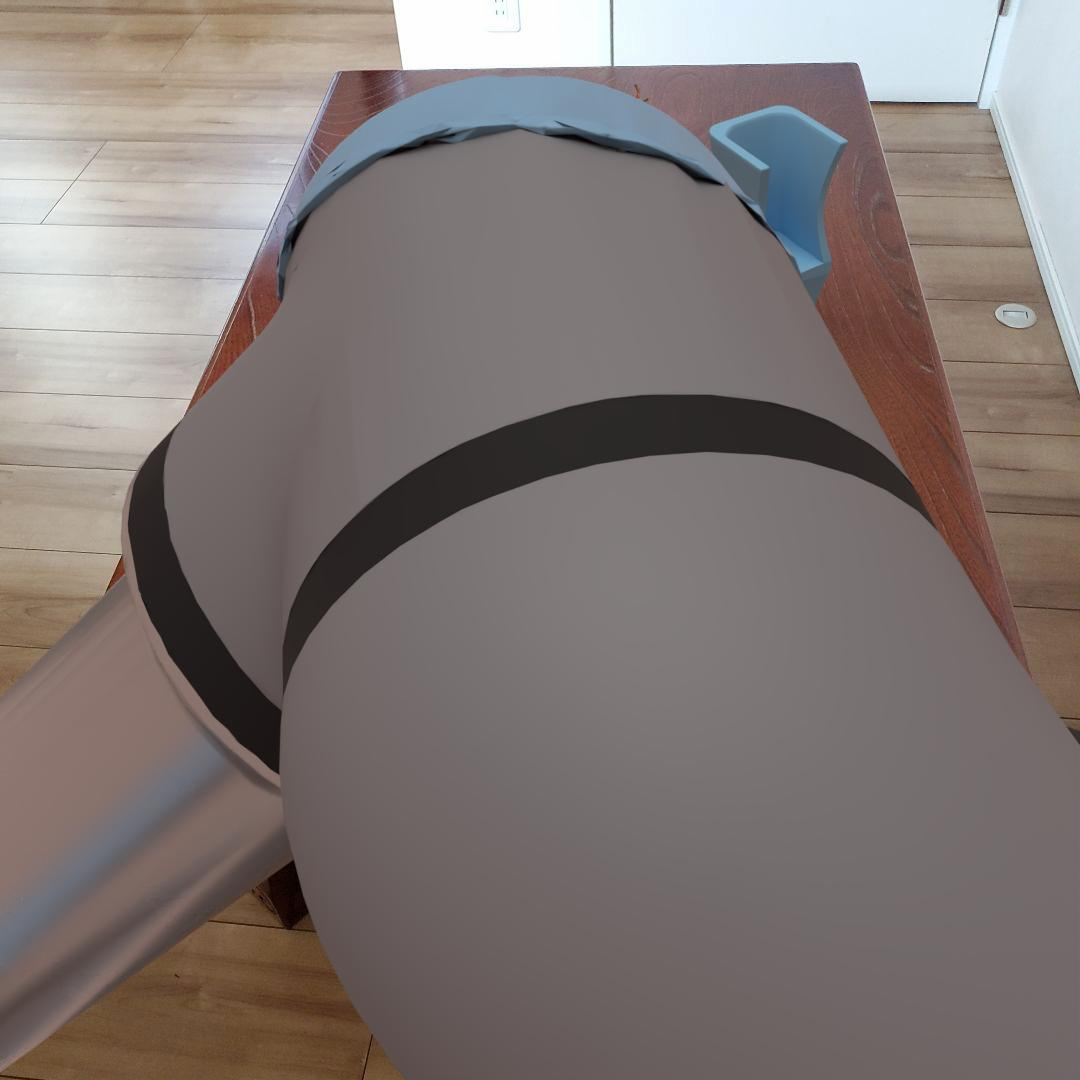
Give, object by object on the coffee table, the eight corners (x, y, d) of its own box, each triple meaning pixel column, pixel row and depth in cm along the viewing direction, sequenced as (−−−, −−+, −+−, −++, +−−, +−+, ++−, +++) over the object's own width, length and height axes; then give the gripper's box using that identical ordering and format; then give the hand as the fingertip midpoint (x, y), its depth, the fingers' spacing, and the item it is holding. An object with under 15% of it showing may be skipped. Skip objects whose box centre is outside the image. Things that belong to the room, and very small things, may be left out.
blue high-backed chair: (740, 390, 94) (760, 170, 80) (690, 343, 99) (700, 127, 85) (817, 360, 97) (849, 141, 82) (763, 315, 102) (785, 101, 87)
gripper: (984, 1080, 49) (558, 874, 57) (1095, 670, 63) (744, 551, 71) (1027, 1014, 43) (549, 796, 51) (1138, 582, 58) (752, 464, 66)
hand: (661, 653), depth 61 cm, fingers open, 13 cm apart
